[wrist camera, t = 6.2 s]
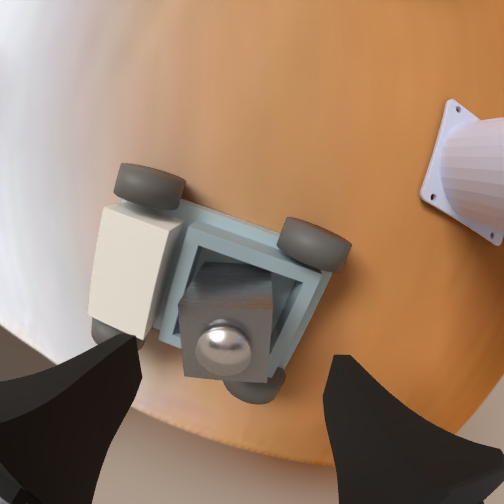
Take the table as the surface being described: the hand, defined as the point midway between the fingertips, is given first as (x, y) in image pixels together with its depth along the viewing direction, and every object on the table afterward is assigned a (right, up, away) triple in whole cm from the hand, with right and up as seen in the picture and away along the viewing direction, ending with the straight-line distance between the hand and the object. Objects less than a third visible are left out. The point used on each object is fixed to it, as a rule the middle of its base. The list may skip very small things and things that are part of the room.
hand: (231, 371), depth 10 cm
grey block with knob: (0, +2, +9) cm, 9 cm away
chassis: (-2, +2, +10) cm, 10 cm away
